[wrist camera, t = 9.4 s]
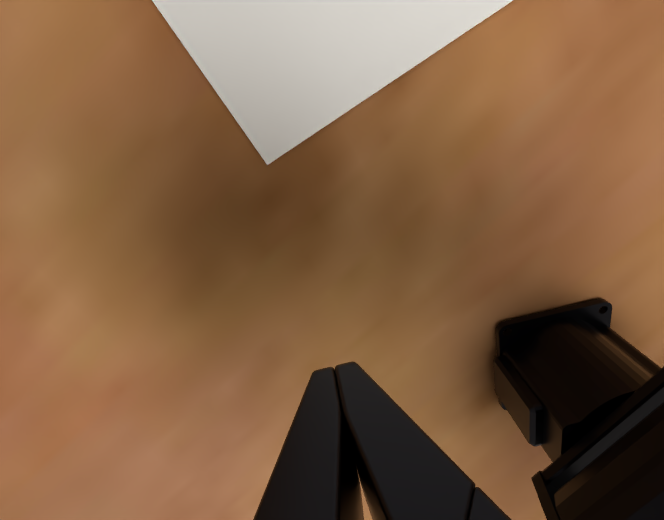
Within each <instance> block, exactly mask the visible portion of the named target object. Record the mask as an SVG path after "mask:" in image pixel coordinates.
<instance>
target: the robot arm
mask: <svg viewBox="0 0 664 520" xmlns="http://www.w3.org/2000/svg"><path fill="white" fill-rule="evenodd" d="M601 307H602V308H601ZM600 308H601V309H600ZM611 313H612V305H611V304H610V303H609V302H608V301H606V300H605V299H596V300H592V301H588V302H583V303H579V304H575V305H570V306H566V307H562V308H558V309H553V310H549V311H545V312H541V313H536V314H532V315H528V316H523V317H519V318H515V319H511V320H506V321H503V322H501V323H499V324H498V325H497V327H496V351H497V356H496V357H495V359H494V361H493V362H494V384H495V392H496V394H497V395H498V399H499V404H500V405H501V407H502V408H503V409H504V410H507V411H508V412H509V414H510V415H511V417H512V418H513V420H514V421H515V423H516V424H517V426H518V427H519V429H520V430H521V432H522V434H523V435H524V437H525V438H526V440H527V441H528V443H529V444H531V445H533V446H539V445H541V446H542V447H543V449H544V450H545V452H546V453H547V455H548V456H549V458H550V459H551V461H552V462H553V463H551V464H550V465H549V466H548V467H547V468H546V469H544V470H543V471H539V472H538V473H536V474H535V475H534V476H533V477H532V481H533V484H534V486H535V489H536V492H537V494H538V498H539V500H540V503H541V506H542V508H543V511H544V513H545V516H546V519H547V520H664V367H663V368H660V367H659V366H658V365H657V364H655V363H654V362H653V361H651V360H650V359H649V358H648V357H646V356H645V355H644V354H642V353H641V352H640V351H639V350H637V349H636V348H635V347H634V346H632V345H631V344H630V343H628V342H627V341H626V340H625V339H623V338H622V337H621V336H619V335H618V334H617V333H616V332H614V331H613V330H612V329H611V328H610V322H611ZM505 329H508V330H507V331H505V332H504V330H505ZM357 470H358V471H357ZM358 474H359V476H358ZM359 478H360V482H361V485H362V489H363V492H364V495H365V498H366V501H367V504H368V507H369V510H370V513H371V516H372V519H373V520H511V519H510V518H509V517H508V516H507V515H506V514H505V513H504V512H503V511H502V510H501V509H500V508H499V507H498V506H497V505H496V504H495V503H494V502H493V501H492V500H491V499H490V498H489V497H488V496H487V495H486V494H485V493H484V492H483V491H482V490H481V489H480V488H479V487H476V488H475V483H474V482H473V481H472V480H471V479H470V478H469V477H468V476H467V475H466V474H465V473H464V472H463V471H462V470H461V469H460V468H459V467H458V466H457V465H456V464H455V463H454V462H453V461H452V460H451V459H450V458H449V457H448V456H447V455H446V454H445V453H444V452H443V451H442V450H441V448H440V447H439V446H438V445H437V444H436V443H435V442H434V441H433V440H432V439H431V438H430V437H429V436H428V435H427V434H426V433H425V432H424V431H423V430H422V429H421V428H420V427H419V426H418V425H417V424H416V423H415V422H414V421H413V420H412V419H411V418H410V417H409V416H408V415H407V414H406V413H405V412H404V411H403V410H402V409H401V408H400V407H399V406H398V405H397V404H396V403H395V402H394V401H393V400H392V399H391V398H390V397H389V396H388V395H387V394H386V392H385V391H384V390H383V389H382V388H381V387H380V386H379V385H378V384H377V383H376V382H375V381H374V380H373V379H372V378H371V377H370V376H369V375H368V374H367V373H366V372H365V371H364V370H363V369H362V368H361V367H360V366H359V365H358V364H357V363H356V362H348V363H344V364H340V365H337V366H336V367H335V370H334V368H333V367H327V368H323V369H319V370H315V371H314V372H313V373H312V375H311V377H310V380H309V382H308V385H307V387H306V390H305V392H304V395H303V397H302V400H301V402H300V405H299V407H298V410H297V412H296V415H295V417H294V420H293V422H292V425H291V427H290V430H289V432H288V435H287V437H286V439H285V442H284V444H283V447H282V449H281V452H280V454H279V457H278V459H277V462H276V464H275V467H274V469H273V472H272V474H271V477H270V479H269V482H268V484H267V487H266V489H265V492H264V494H263V497H262V499H261V502H260V504H259V507H258V509H257V512H256V514H255V517H254V519H253V520H364V516H363V506H362V496H361V488H360V482H359Z"/></svg>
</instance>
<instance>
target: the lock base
mask: <svg viewBox="0 0 664 520" xmlns="http://www.w3.org/2000/svg"><path fill="white" fill-rule="evenodd" d="M152 1H153V2H154V4H155V5H156V7H157V8H158V10H159V11H160V12H161V14H162V15H163V17H164V18H165V20H166V21H167V22H168V24H169V25H170V27H171V28H172V30H173V31H174V32H175V34H176V35H177V37H178V38H179V40H180V41H181V42H182V44H183V45H184V47H185V48H186V50H187V51H188V52H189V54H190V55H191V57H192V58H193V60H194V61H195V62H196V64H197V65H198V67H199V68H200V70H201V71H202V72H203V74H204V75H205V77H206V78H207V80H208V81H209V82H210V84H211V85H212V87H213V88H214V90H215V91H216V92H217V94H218V95H219V97H220V98H221V100H222V101H223V102H224V104H225V105H226V107H227V108H228V110H229V111H230V112H231V114H232V115H233V117H234V118H235V120H236V121H237V122H238V124H239V125H240V127H241V128H242V130H243V131H244V132H245V134H246V135H247V137H248V138H249V140H250V141H251V142H252V144H253V145H254V147H255V148H256V150H257V151H258V152H259V154H260V155H261V157H262V158H263V160H264V161H265V162H266V164H267V165H268V164H270V163H271V162H273V161H274V160H276V159H277V158H279V157H280V156H282V155H283V154H285V153H286V152H288V151H289V150H291V149H292V148H294V147H295V146H297V145H298V144H300V143H301V142H303V141H304V140H306V139H307V138H308V137H310V136H311V135H313V134H314V133H316V132H317V131H319V130H320V129H322V128H323V127H325V126H326V125H328V124H329V123H331V122H332V121H334V120H335V119H337V118H338V117H340V116H341V115H343V114H344V113H346V112H347V111H349V110H350V109H352V108H353V107H355V106H356V105H358V104H359V103H361V102H362V101H364V100H365V99H367V98H368V97H370V96H371V95H373V94H374V93H376V92H377V91H379V90H380V89H382V88H383V87H385V86H386V85H388V84H389V83H391V82H392V81H394V80H395V79H397V78H398V77H399V76H401V75H402V74H404V73H405V72H407V71H408V70H410V69H411V68H413V67H414V66H416V65H417V64H419V63H420V62H422V61H423V60H425V59H426V58H428V57H429V56H431V55H432V54H434V53H435V52H437V51H438V50H440V49H441V48H443V47H444V46H446V45H447V44H449V43H450V42H452V41H453V40H455V39H456V38H458V37H459V36H461V35H462V34H464V33H465V32H467V31H468V30H470V29H471V28H473V27H474V26H476V25H477V24H479V23H480V22H482V21H483V20H485V19H486V18H488V17H489V16H490V15H492V14H493V13H495V12H496V11H498V10H499V9H501V8H502V7H504V6H505V5H507V4H508V3H510V2H511V1H513V0H152Z"/></svg>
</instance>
